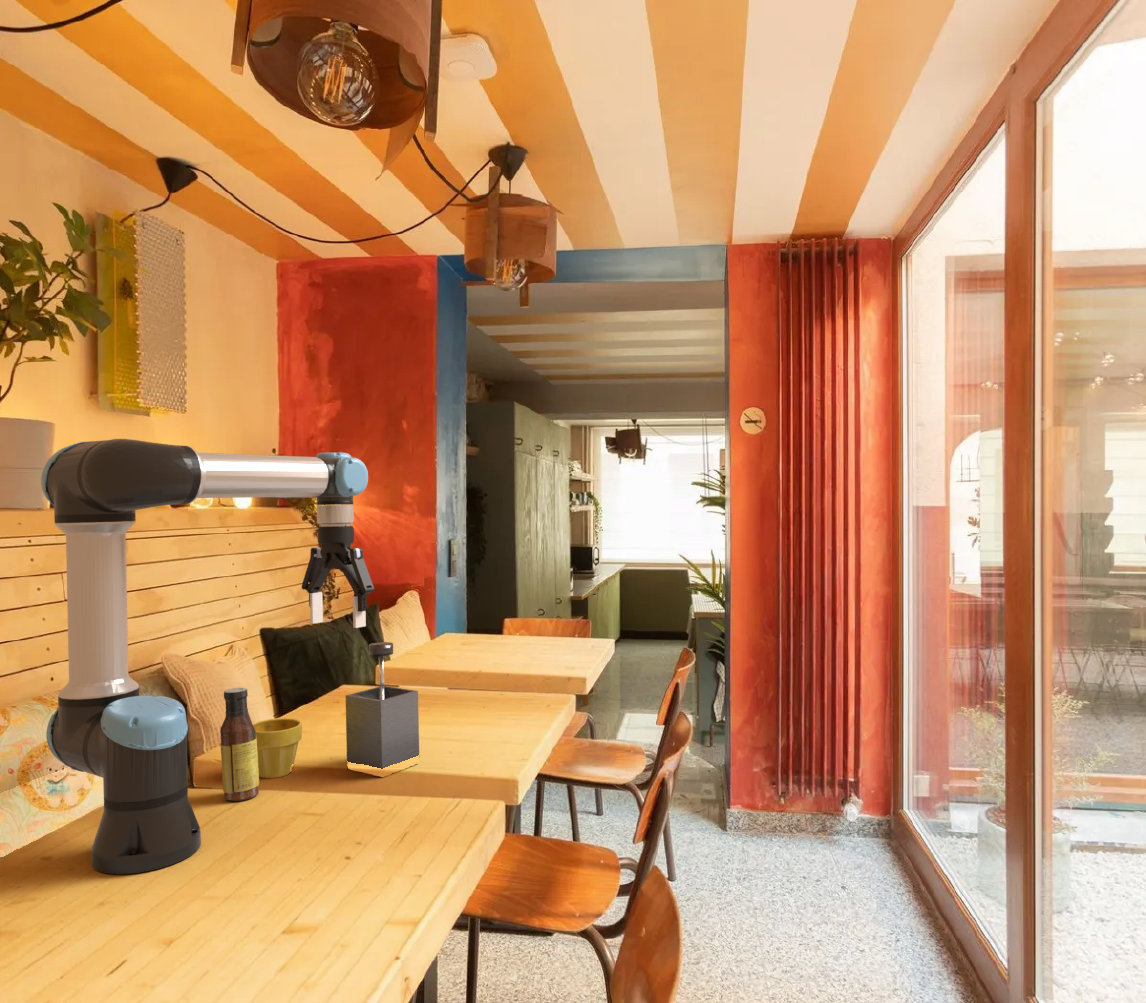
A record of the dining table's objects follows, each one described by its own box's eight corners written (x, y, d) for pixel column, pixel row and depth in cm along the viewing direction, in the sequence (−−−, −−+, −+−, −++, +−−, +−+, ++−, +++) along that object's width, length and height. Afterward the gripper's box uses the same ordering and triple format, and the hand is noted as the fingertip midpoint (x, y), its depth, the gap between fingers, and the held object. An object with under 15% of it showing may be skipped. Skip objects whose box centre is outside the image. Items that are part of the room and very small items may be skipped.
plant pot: (291, 781, 162) (290, 731, 162) (239, 782, 162) (238, 731, 162) (309, 764, 172) (308, 717, 172) (260, 765, 173) (259, 718, 173)
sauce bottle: (265, 791, 157) (263, 685, 157) (249, 803, 151) (247, 693, 151) (232, 790, 157) (230, 685, 157) (214, 802, 151) (212, 693, 151)
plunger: (381, 716, 164) (380, 649, 164) (353, 711, 169) (351, 645, 169) (411, 707, 171) (410, 642, 171) (383, 702, 176) (382, 639, 176)
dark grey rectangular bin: (382, 778, 163) (380, 701, 163) (347, 769, 169) (345, 695, 169) (431, 759, 174) (430, 687, 174) (397, 751, 180) (395, 682, 180)
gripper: (390, 524, 174) (392, 626, 174) (311, 524, 188) (313, 618, 188) (362, 525, 167) (364, 631, 167) (283, 525, 181) (285, 623, 181)
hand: (337, 625), depth 178 cm, fingers open, 13 cm apart
